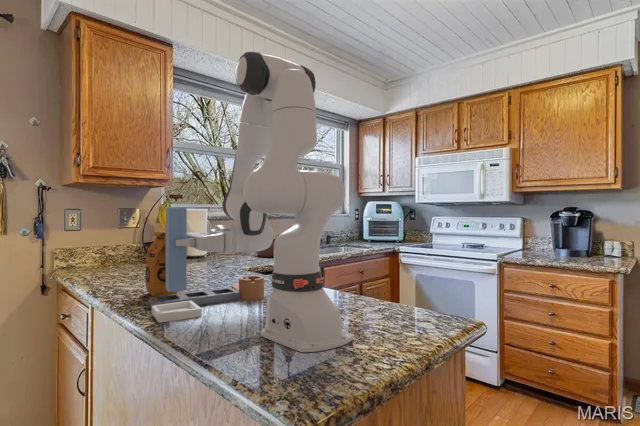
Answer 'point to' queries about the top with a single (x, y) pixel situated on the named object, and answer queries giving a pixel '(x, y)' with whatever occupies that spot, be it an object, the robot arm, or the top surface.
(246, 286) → the bracket
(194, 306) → the tray
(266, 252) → the wooden bowl
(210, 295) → the rail
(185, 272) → the blue-grey rectangular block
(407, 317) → the top surface
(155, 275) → the coffee package
